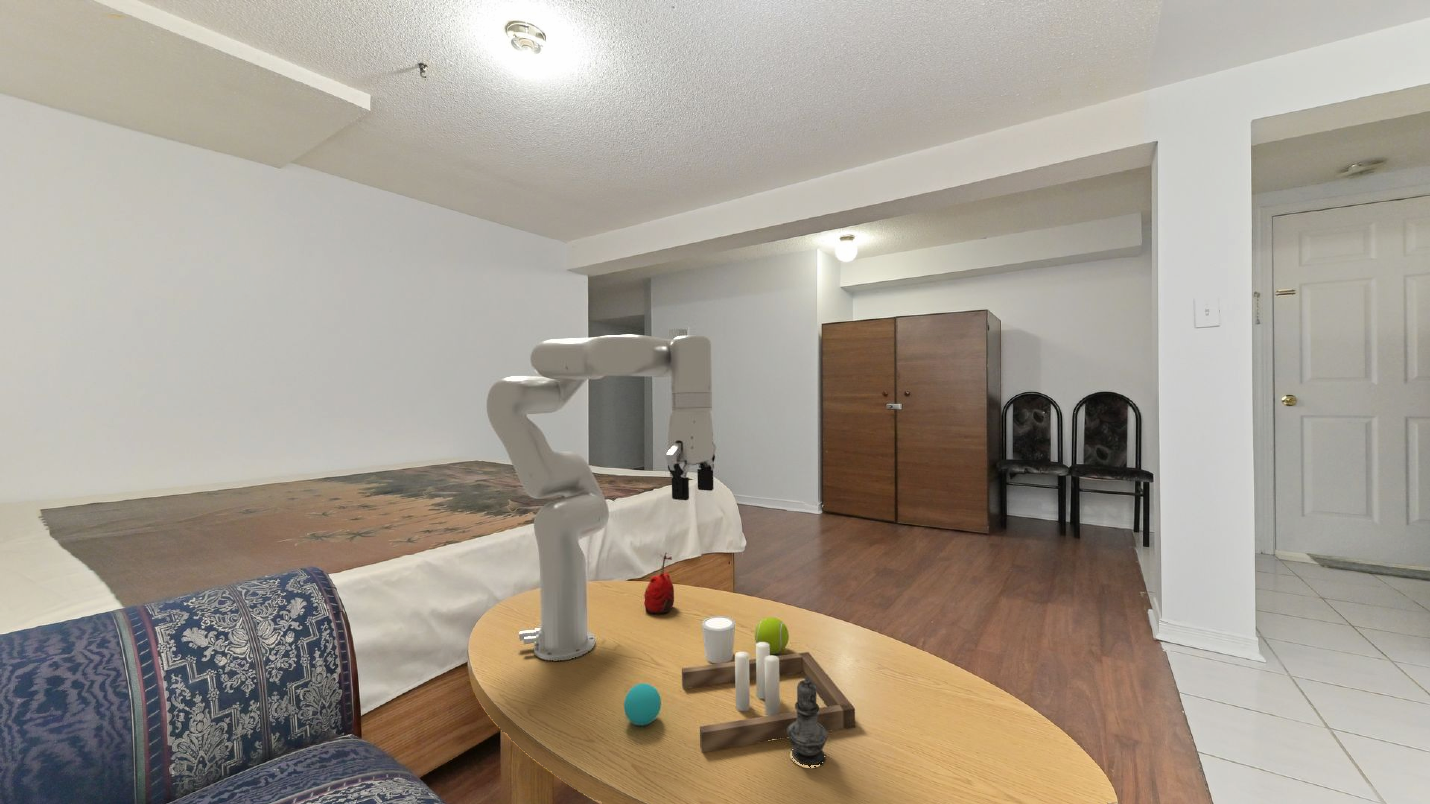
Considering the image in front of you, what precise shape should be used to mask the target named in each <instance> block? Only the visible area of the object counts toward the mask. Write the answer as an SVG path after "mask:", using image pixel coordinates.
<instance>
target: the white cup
mask: <svg viewBox="0 0 1430 804" xmlns="http://www.w3.org/2000/svg"><path fill="white" fill-rule="evenodd" d="M701 628H702V637H703V638H702V639H703V640H702V641H703V647H704V656H705V659H706V661H708V662H710V663H711V664H712V663H713V664H720V663H727V662H731V661H732V659H733V657H734V656H733V655H734V643H735V631H736V621H735V620H734V619H733V618H732V617H728V616H723V615H721V616H720V615H718V616H717V615H716V616H715V615H714V616H709V617H708V618H705V619H704V620H703V621H702V622H701Z"/></svg>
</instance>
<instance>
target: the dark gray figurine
mask: <svg viewBox="0 0 1430 804" xmlns="http://www.w3.org/2000/svg"><path fill="white" fill-rule="evenodd" d="M808 679H809V678H808V677H807V676H806V677H805V676H804V678H803V680H801V681H799V682H798V683H797V685H796V695H797V696H796V699H797V700H796V702H795V704H794V709H795V711H797V721H796V722H793V723H792V724H790V726H789V727H788V729H787V734H788V736H789V738H788V739H789V741H790V744H791V746H792V748H790V750H791V751H792V756H793V758H794V759H795V760H796V761H797V762H799V763H800V764H802V765H803V764H804V765H808V766H809V767H810V766H811V765H819V764H820V765H822V764H823V763H822V762H825V763H826V760H825V759H827V758H825V757H824V756H826V754H824V753H825V752H824V751H823V749H824V747H825V744H826V741H827V740H828V735H829V734H828V732H827V731H826V729H825V728H824V727H823V726H822V725H820V724H819V723H818V722H817V712H818V711H819V708H820V706H819V704H818V703H817V692H816V686H815V684H814V683H813V682H811V681H809V680H808ZM792 749H793V750H792ZM793 758H792V759H793ZM794 762H795V761H794ZM823 765H824V764H823ZM823 765H822V766H823ZM814 767H816V766H814ZM810 768H811V767H810Z"/></svg>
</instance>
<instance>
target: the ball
mask: <svg viewBox="0 0 1430 804" xmlns="http://www.w3.org/2000/svg"><path fill="white" fill-rule="evenodd" d="M660 695H661V694H660V693H659V691H658V689H657V688H656V687H654V685H652V684H650V683H645V682H643V683H638V684H636V685H634V686H632V687H631V689H629V691H628V692H627V694H626V695H625V698H624V700H623V701H624V703H623V709H624V713H625V716H626V718H627V719H628V721H629V722H631V723H632V724H634V725H635V726H646V725H649V724H651V723H653V722H654V721H655V719H656V718H657V717H658V716H659V713H660V710H661V705H662V701H661V696H660Z"/></svg>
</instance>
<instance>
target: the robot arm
mask: <svg viewBox="0 0 1430 804" xmlns="http://www.w3.org/2000/svg"><path fill="white" fill-rule="evenodd" d="M711 343H712V342H711V341H710V339H709V337H708V336H707V337H706V336H704V335H698V334H697V335H694V334H693V335H692V334H691V335H690V334H688V335H678V336H676V337H674V338H673V339H669V338H661V337H656V336H651V335H650V336H649V335H643V334H620V335H619V334H618V335H617V334H616V335H601V336H594V337H580V338H579V337H578V338H577V337H575V338H558V339H557V338H555V339H554V338H552V339H547V340H544V341H541V342H539V343H538V344H536V345H535V346H534V348H532V351H531V354H530V359H529V360H530V364H531V367H532V368H533V370H534V371H535V372H536V374H538V376H533V375H531V376H530V375H512V376H508V377H507V376H506V377H503V378H500V379H499V380H497V381H495V382H494V383H493V384H492V385H491V387H490V389H489V391H488V393H487V399H486V413H487V417H488V421H489V423H490V425H491V427H492V428H493V431H494V433H495V434H496V435H497V437H498V438H499V440H500V441H501V444H502V445H503V447H504V449H505V450H506V453H507V456H508V458H509V460H510V462H511V464H512V466H513V469H514V471H515V473H516V475H517V477H518V480H519V481H520V484H521V485H522V486H521V487H523V489H524V491H525V493H526V494H527V495H528V496H529V497H530V498H532V499H535V500H537V499H538V500H539V499H542V500H543V499H547V498H553V497H556V496H560V495H563V497H561V498H559V499H555V500H552V501H549V502H547V503H546V504H543V506H542V507H540V509H538V511H537V513H536V514H535V516H534V520H533V530H534V535H535V540H536V543H537V550H538V559H539V579H540V580H539V582H540V583H539V584H540V588H539V589H540V626H539V627H535V629H532V630H529V629H527V630H520V631H519V635H518V636H519V641H523V645H529V644H530V645H531V644H533V643H534V645H533V652H534V655H535V656H536V657H538V658H539V659H542V660H545V661H550V660H551V662H553V661H554V662H558V660H559V662H560V660H561V661H569V660H573V659H576V658H578V657H581V656H583V654H584V655H585V654H588V653H589V652H590V651H591V650H592V649H593V648H594V647H595V645H596V636H595V635H594V633H593V632H592V631H589V629H588V626H589V625H588V624H589V623H588V587H587V586H588V584H587V583H588V582H587V581H588V579H587V577H588V576H587V561H586V556H585V554H584V552H583V550H582V547H581V546H580V543H579V540H583V538H586V537H589V536H591V535H594V534H597V533H599V532H601V531H602V530H603V529H604V528H605V527H606V526H607V524H608V522H609V517H610V512H609V506H608V503H607V500H606V498H605V496H604V494H603V492H602V489H601V488H600V485H599V484H598V482H597V479H596V477H595V476H594V473H593V472H592V470H591V468H590V466H589V463H588V462H587V461H586V459H585V458H584V457H583V456H582V455H581V454H578V453H577V452H575V451H570V450H563V451H557V452H556V451H554V450H553V449H552V448H551V446H550V444H549V443H548V440H547V438H546V436H545V434H544V432H543V431H542V430H541V429H540V428H539V427H538V425H537V424H535V423H534V422H533V421H532V420H530V418H529V417H528V415H537V414H538V415H539V414H551V413H554V412H558V411H559V410H561V409H562V408H563V407H564V406H566V405H567V404H568V402H569V401H570V400H571V399H572V398H573V396H574V395H576V393H577V392H578V391H579V390H580V389H581V387H582V386H583V385H584V384H585V383H586V381H587V380H599V379H600V380H601V379H602V378H604V377H650V378H651V377H654V378H667V377H670V385H671V386H670V390H671V391H670V392H671V394H670V395H671V396H670V397H671V411H670V416H669V422H668V423H669V424H668V434H667V436H668V437H667V438H668V439H667V453H666V455H665V460H666V462H667V470H668V471H669V477H670V478H671V499H673V500H676V501H677V500H679V501H688V500H689V499H690V492H689V491H690V484H689V483H690V481H689V479H690V478H689V476H688V477H687V475H688V472H689V469H690V466H695V465H696V466H698V468H697V470H696V472H697V490H699V491H708V492H709V491H713V490H714V487H715V486H714V469H715V464H714V462H715V459H716V456H715V454H716V449H717V445H716V444H715V443H714V431H713V430H714V429H713V420H712V419H713V418H712V413H711V411H712V410H713V393H712V392H713V389H712V388H713V387H712V385H713V383H712V381H713V380H712V378H713V377H712V345H711ZM588 651H589V652H588ZM575 657H576V658H575ZM572 658H573V659H572ZM552 660H553V661H552Z"/></svg>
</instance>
